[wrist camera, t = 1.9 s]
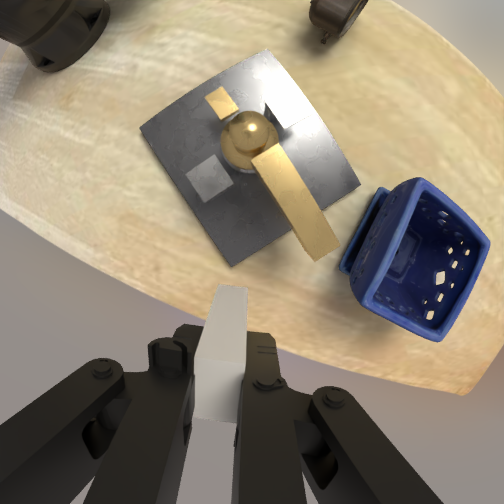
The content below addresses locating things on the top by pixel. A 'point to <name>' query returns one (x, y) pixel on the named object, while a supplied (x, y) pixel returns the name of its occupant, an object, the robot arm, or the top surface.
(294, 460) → the robot arm
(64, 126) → the top surface
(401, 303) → the flower pot
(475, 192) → the top surface
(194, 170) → the socket
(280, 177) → the lever handle
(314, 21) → the alarm clock
